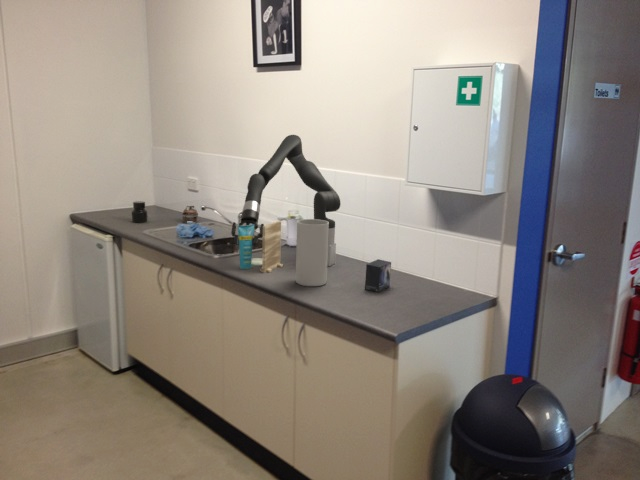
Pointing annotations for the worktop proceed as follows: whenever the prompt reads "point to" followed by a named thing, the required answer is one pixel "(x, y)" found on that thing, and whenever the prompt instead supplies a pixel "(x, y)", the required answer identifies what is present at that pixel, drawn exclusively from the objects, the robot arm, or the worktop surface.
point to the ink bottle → (139, 212)
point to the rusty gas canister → (190, 214)
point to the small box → (377, 275)
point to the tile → (256, 261)
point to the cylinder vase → (312, 252)
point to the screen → (271, 247)
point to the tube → (245, 245)
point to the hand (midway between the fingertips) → (245, 244)
